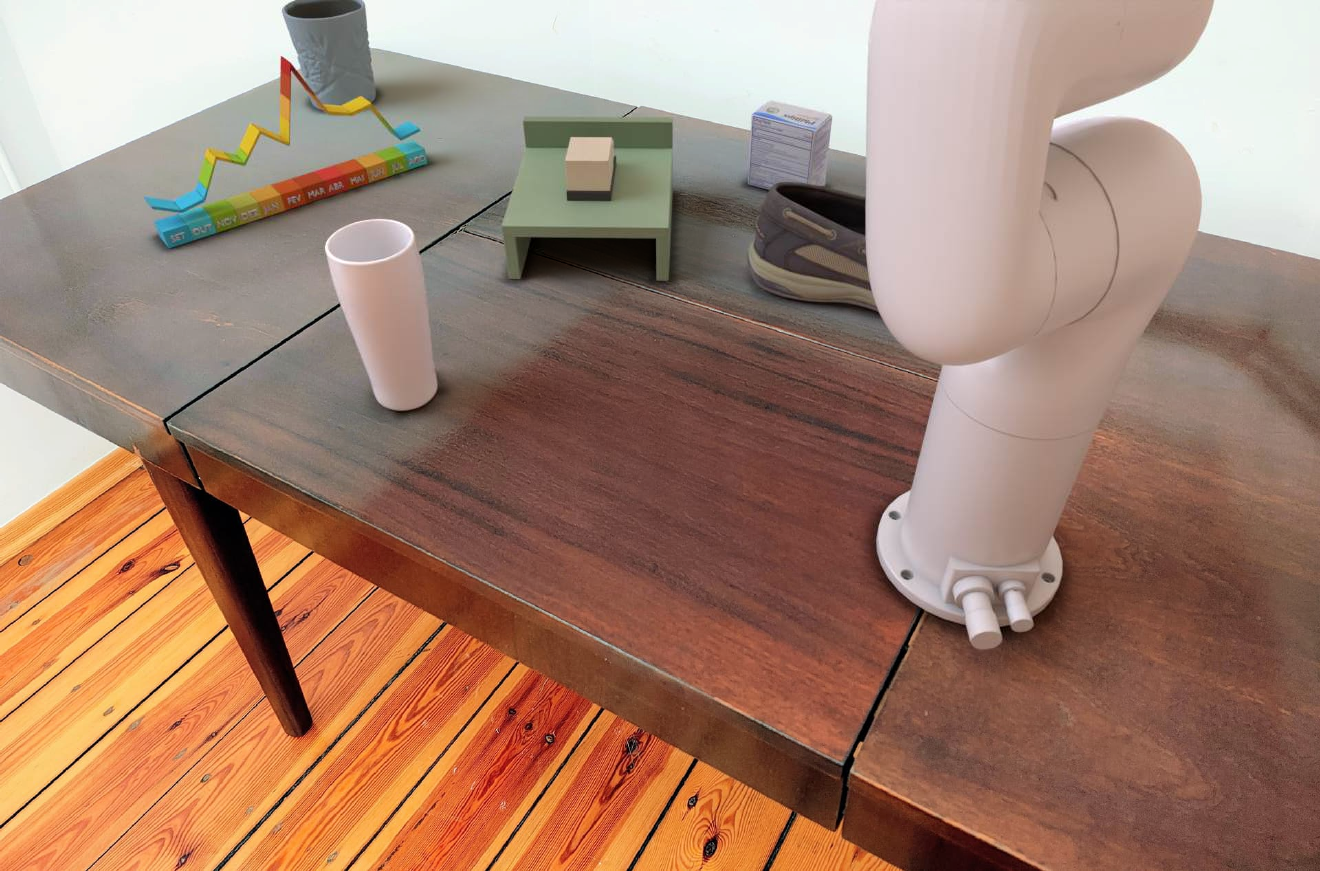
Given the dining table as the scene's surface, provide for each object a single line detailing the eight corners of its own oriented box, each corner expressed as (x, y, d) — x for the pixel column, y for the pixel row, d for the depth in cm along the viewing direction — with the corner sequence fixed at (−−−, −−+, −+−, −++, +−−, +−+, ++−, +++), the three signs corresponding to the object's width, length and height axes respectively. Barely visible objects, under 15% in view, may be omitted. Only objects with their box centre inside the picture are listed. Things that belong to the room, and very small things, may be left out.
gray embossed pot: (293, 111, 123) (267, 16, 115) (326, 81, 131) (303, -10, 123) (366, 116, 122) (344, 21, 114) (394, 85, 129) (376, -6, 121)
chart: (169, 249, 98) (112, 110, 88) (160, 237, 100) (102, 99, 89) (428, 164, 112) (404, 36, 102) (415, 155, 114) (391, 28, 103)
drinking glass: (409, 430, 77) (369, 274, 66) (350, 402, 79) (303, 248, 69) (463, 385, 81) (434, 232, 71) (405, 360, 83) (369, 209, 73)
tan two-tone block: (611, 201, 92) (609, 161, 90) (567, 201, 93) (563, 161, 90) (616, 164, 98) (614, 126, 96) (575, 164, 98) (572, 125, 96)
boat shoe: (1057, 345, 84) (1093, 241, 77) (737, 310, 89) (743, 209, 82) (1045, 280, 92) (1077, 180, 85) (751, 251, 97) (758, 153, 90)
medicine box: (825, 187, 107) (834, 113, 101) (808, 203, 104) (816, 128, 98) (764, 170, 110) (769, 98, 104) (746, 185, 107) (750, 112, 101)
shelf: (668, 281, 93) (668, 199, 87) (508, 279, 93) (497, 197, 87) (672, 193, 106) (672, 117, 100) (532, 192, 106) (524, 116, 100)
